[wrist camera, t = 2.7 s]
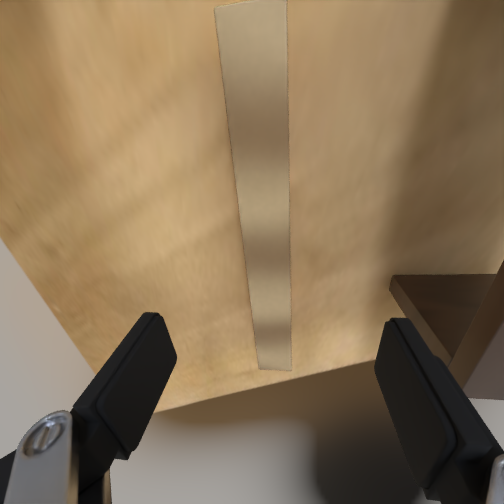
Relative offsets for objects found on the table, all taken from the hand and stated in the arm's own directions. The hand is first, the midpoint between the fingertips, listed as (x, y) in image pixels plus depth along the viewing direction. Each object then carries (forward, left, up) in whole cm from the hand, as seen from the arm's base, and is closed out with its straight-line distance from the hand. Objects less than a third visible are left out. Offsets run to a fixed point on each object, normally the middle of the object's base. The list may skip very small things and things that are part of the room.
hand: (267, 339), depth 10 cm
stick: (0, 0, -10) cm, 10 cm away
